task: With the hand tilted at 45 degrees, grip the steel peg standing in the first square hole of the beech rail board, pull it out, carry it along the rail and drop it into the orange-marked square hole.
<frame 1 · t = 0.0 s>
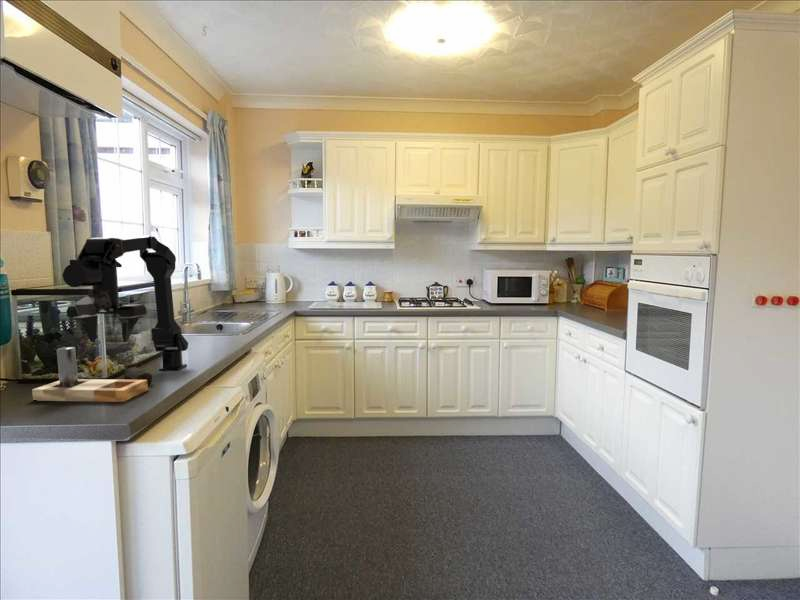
hand: (109, 342, 118), 15 cm above the counter, tool pointing down, fingers open, 9 cm apart
steel peg: (70, 394, 120), resting in rail board
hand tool: (134, 381, 134), on the counter
rail board: (92, 395, 119), on the counter
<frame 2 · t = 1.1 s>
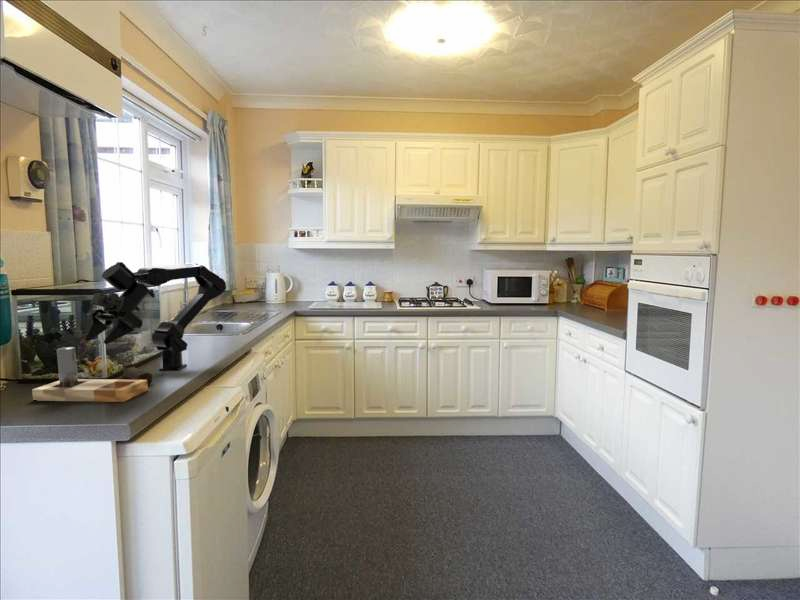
hand: (95, 342, 125), 13 cm above the counter, tool tilted 45°, fingers open, 9 cm apart
nothing on the counter moved.
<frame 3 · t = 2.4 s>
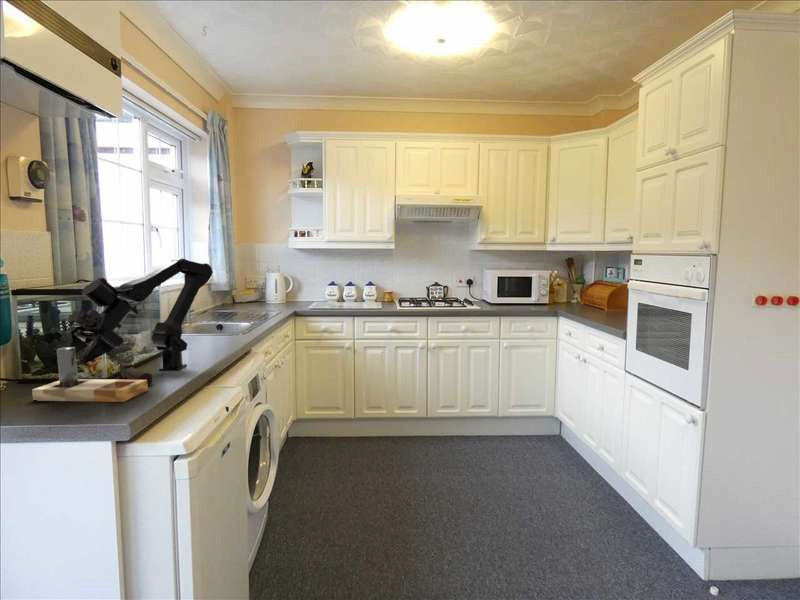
hand: (73, 361, 120), 9 cm above the counter, tool tilted 45°, fingers open, 9 cm apart
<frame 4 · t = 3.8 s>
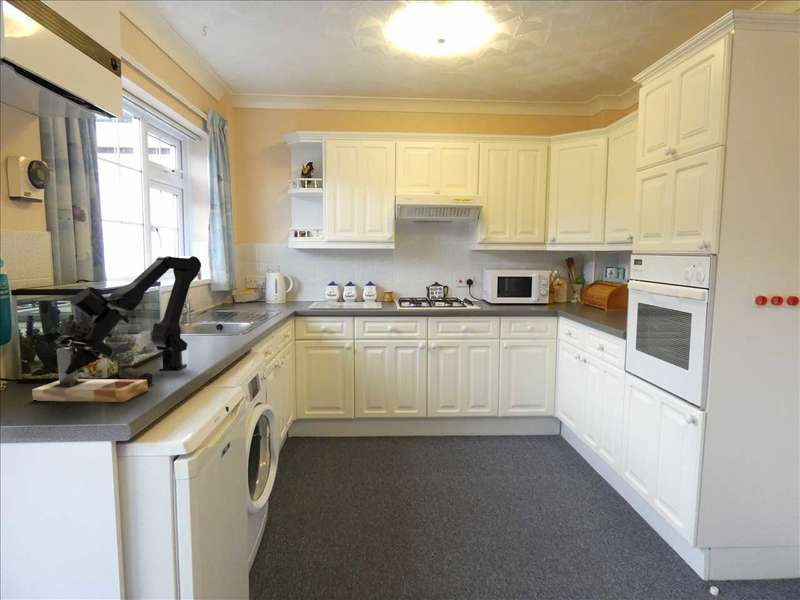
hand: (62, 372, 118), 7 cm above the counter, tool tilted 45°, fingers closed on steel peg, 4 cm apart
steel peg: (70, 394, 120), resting in rail board, touching gripper
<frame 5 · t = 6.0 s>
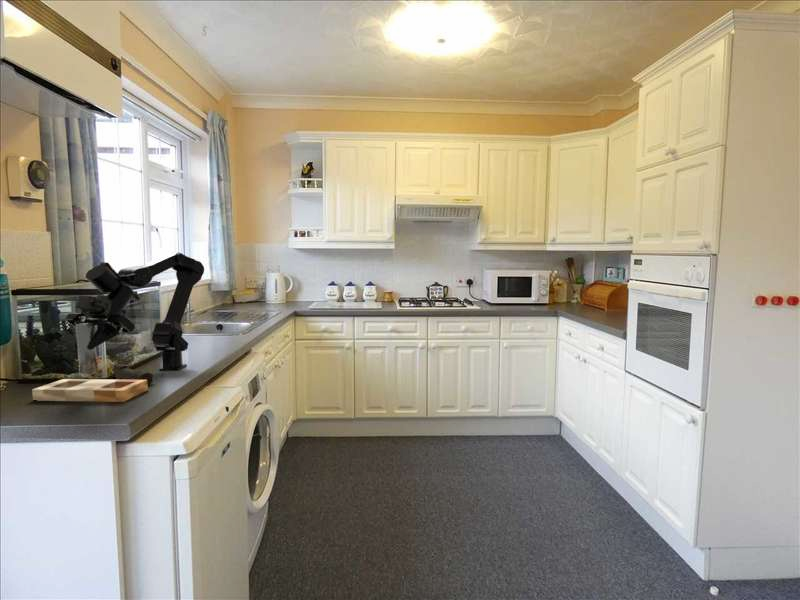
hand: (82, 348, 116), 13 cm above the counter, tool tilted 45°, fingers closed on steel peg, 4 cm apart
steel peg: (88, 371, 118), point 7 cm above the counter, touching gripper
when the fingers open (8 cm above the counter, at t = 8.2 s): steel peg drops 1 cm, resting in rail board.
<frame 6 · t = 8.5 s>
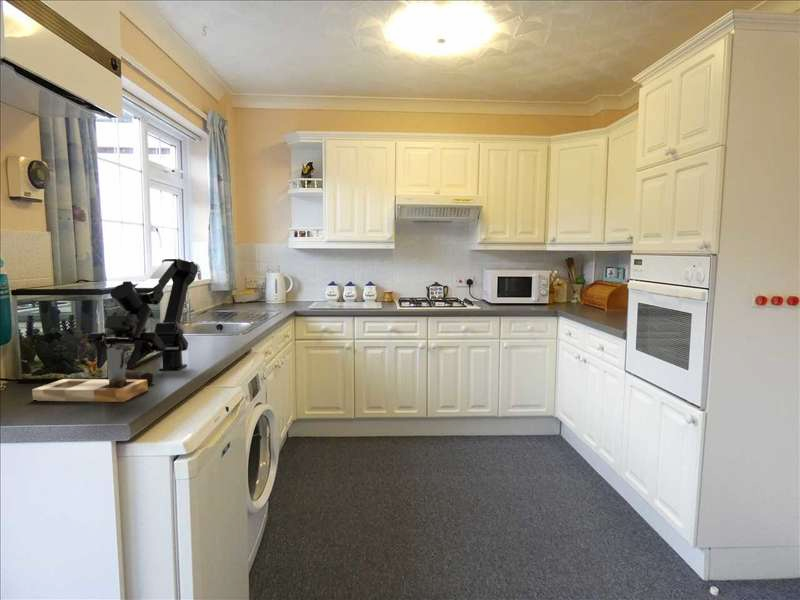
hand: (113, 367, 117), 8 cm above the counter, tool tilted 45°, fingers open, 8 cm apart
steel peg: (118, 395, 119), resting in rail board
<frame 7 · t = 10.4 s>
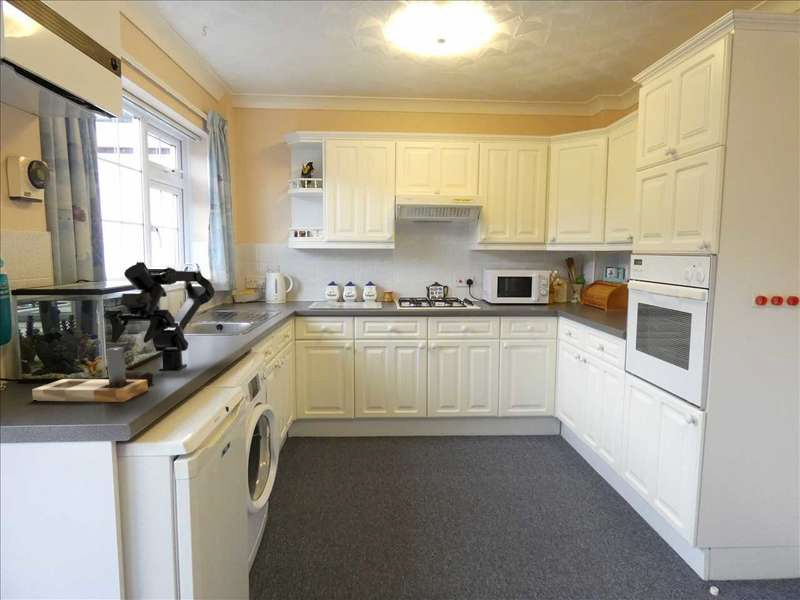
hand: (128, 342, 125), 13 cm above the counter, tool tilted 45°, fingers open, 9 cm apart
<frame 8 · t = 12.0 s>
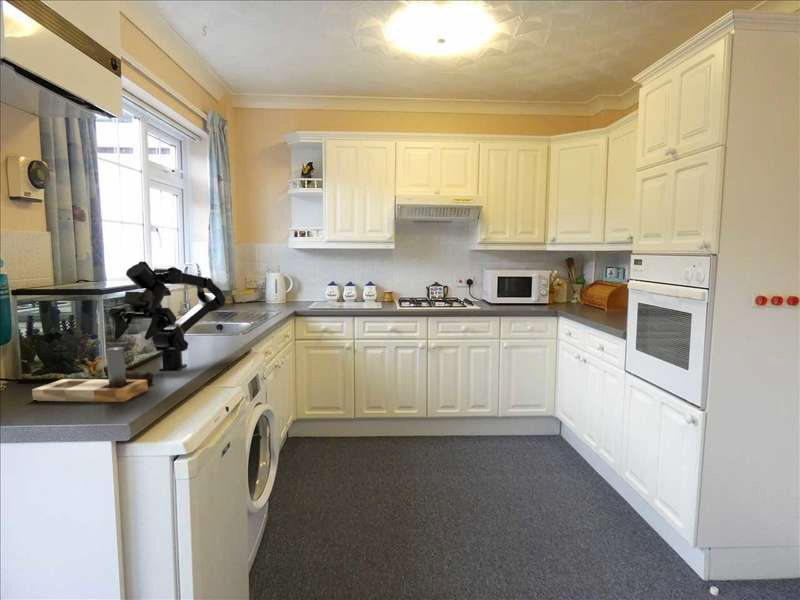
hand: (130, 339, 128), 14 cm above the counter, tool tilted 45°, fingers open, 9 cm apart
at the end: steel peg 0.0 cm from the target spot, resting in rail board; steel peg tilted 0°; the gripper is holding nothing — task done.
